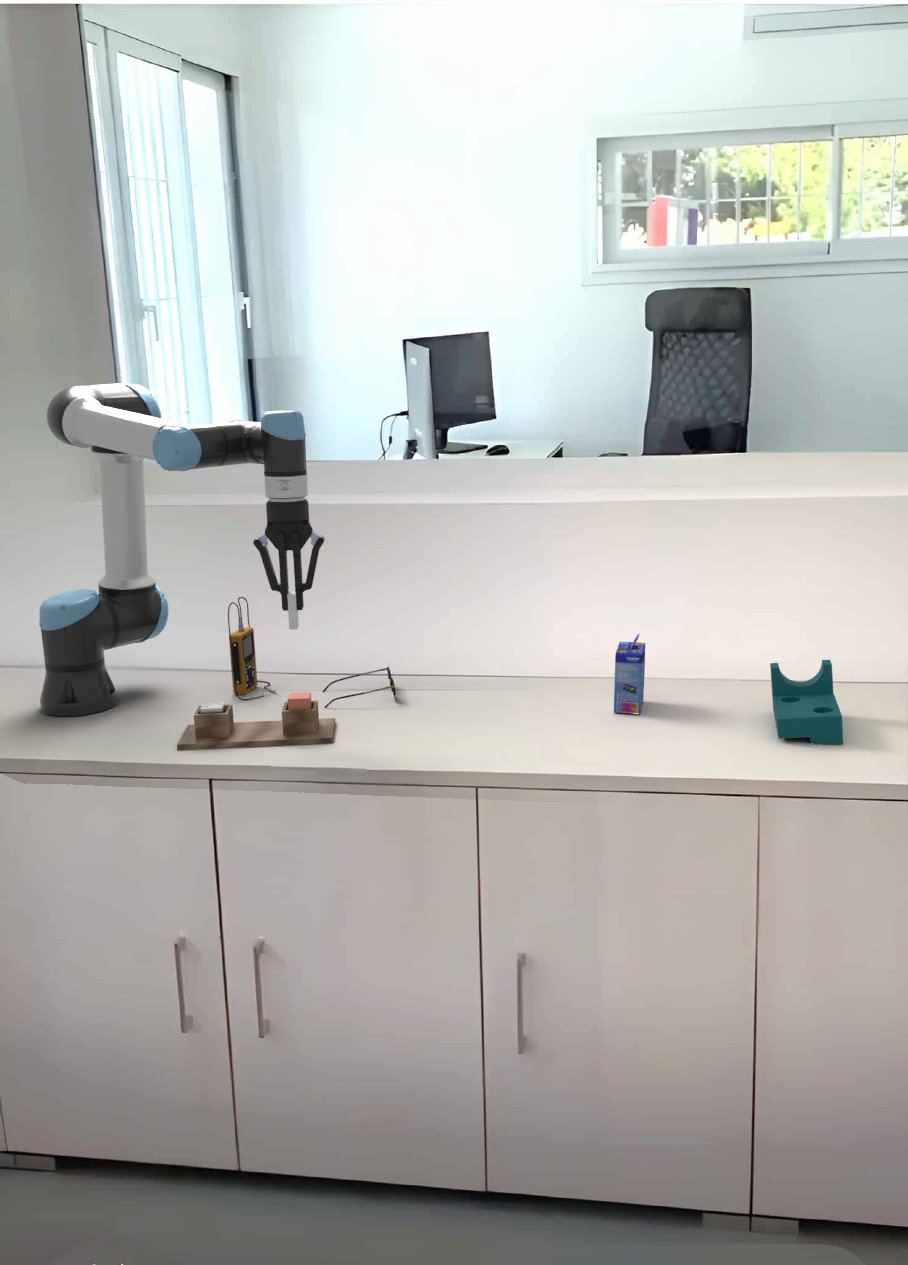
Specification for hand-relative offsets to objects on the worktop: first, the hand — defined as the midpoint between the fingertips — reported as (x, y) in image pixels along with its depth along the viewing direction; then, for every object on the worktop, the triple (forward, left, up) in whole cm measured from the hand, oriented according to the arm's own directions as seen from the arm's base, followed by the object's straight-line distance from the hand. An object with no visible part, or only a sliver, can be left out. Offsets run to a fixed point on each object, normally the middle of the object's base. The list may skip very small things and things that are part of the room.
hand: (294, 627), depth 212 cm
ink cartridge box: (+40, +50, -21) cm, 67 cm away
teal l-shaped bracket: (+73, +58, -21) cm, 95 cm away
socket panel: (-5, -6, -20) cm, 22 cm away
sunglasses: (-9, +23, -21) cm, 33 cm away
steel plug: (-11, -11, -19) cm, 25 cm away
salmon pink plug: (0, 0, -18) cm, 18 cm away
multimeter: (-29, +14, -21) cm, 39 cm away
